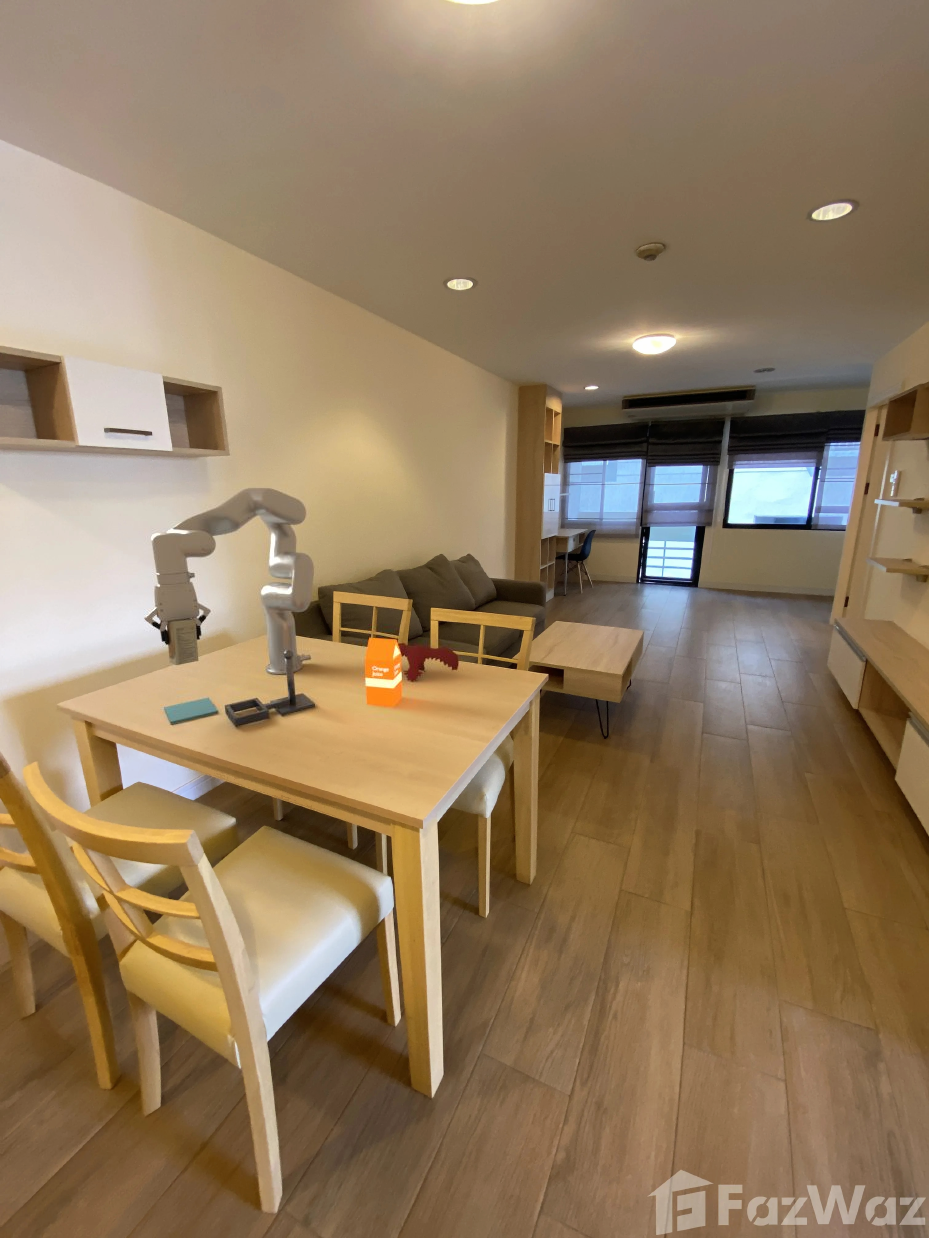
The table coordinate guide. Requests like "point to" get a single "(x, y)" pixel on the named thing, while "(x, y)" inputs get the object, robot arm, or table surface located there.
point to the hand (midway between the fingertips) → (182, 640)
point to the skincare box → (182, 641)
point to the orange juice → (383, 672)
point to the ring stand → (280, 705)
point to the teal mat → (190, 710)
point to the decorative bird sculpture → (421, 653)
